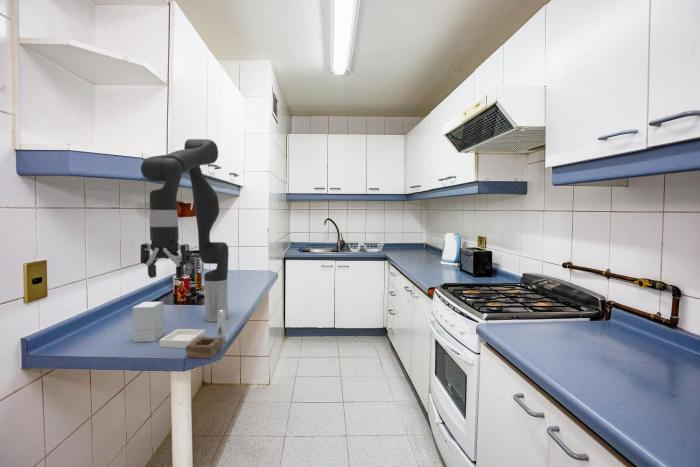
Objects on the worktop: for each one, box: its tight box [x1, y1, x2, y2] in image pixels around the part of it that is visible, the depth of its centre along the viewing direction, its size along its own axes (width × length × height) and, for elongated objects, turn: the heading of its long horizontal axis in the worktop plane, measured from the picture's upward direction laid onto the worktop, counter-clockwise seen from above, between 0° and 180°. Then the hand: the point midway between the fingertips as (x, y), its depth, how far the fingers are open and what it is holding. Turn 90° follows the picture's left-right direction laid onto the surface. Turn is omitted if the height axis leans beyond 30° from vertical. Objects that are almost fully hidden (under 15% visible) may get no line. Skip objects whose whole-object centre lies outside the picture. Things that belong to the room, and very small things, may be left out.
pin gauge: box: [217, 309, 227, 345], centre depth 114 cm, size 3×3×12 cm
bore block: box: [185, 336, 223, 359], centre depth 107 cm, size 8×8×4 cm
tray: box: [158, 328, 206, 349], centre depth 115 cm, size 11×11×2 cm
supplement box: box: [131, 301, 165, 343], centre depth 118 cm, size 7×7×13 cm
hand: (166, 277), depth 99 cm, fingers open, 8 cm apart
